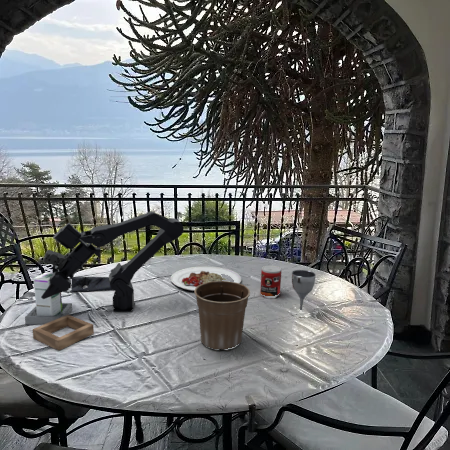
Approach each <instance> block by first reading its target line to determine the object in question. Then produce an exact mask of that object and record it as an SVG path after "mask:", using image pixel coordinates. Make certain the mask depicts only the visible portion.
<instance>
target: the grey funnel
mask: <svg viewBox="0 0 450 450" xmlns="http://www.w3.org/2000/svg"><path fill="white" fill-rule="evenodd" d="M315 282H316V273H315V271H314V272H313V271H311V270H308V269H294V270H293V271H292V272H291V284H292V285H291V286H292V289H293V290H294V292H295V293H296V294H297V295H298V297H299V305H300V306H299V309H300V310H303V305H304V300H305V297H307V296H308V295H309V294H310V293H312V291H313V290H314V286H315Z"/></svg>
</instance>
